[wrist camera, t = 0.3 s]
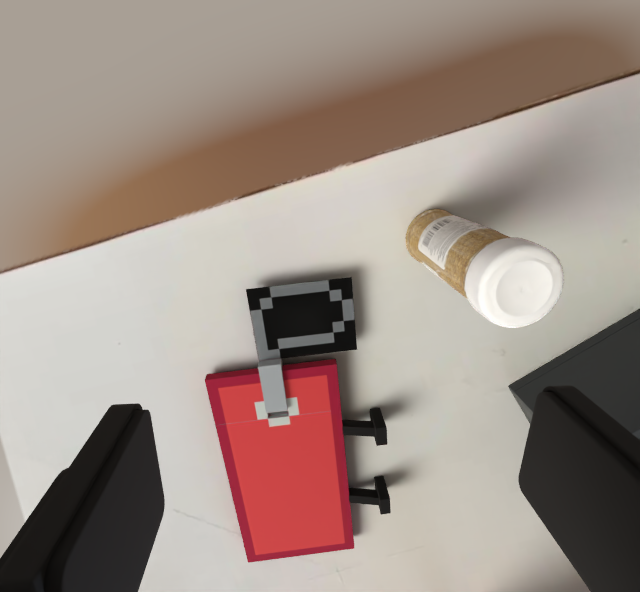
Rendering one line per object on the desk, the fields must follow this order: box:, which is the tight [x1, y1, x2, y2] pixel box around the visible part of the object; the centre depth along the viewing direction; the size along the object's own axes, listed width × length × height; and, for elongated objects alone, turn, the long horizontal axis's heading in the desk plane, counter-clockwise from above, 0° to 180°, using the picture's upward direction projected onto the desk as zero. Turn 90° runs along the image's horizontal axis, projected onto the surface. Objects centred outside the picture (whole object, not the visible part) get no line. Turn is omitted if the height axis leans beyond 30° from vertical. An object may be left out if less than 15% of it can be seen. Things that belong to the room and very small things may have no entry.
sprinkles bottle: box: [406, 209, 564, 328], centre depth 26 cm, size 5×5×13 cm
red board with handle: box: [205, 277, 390, 562], centre depth 37 cm, size 30×3×15 cm
